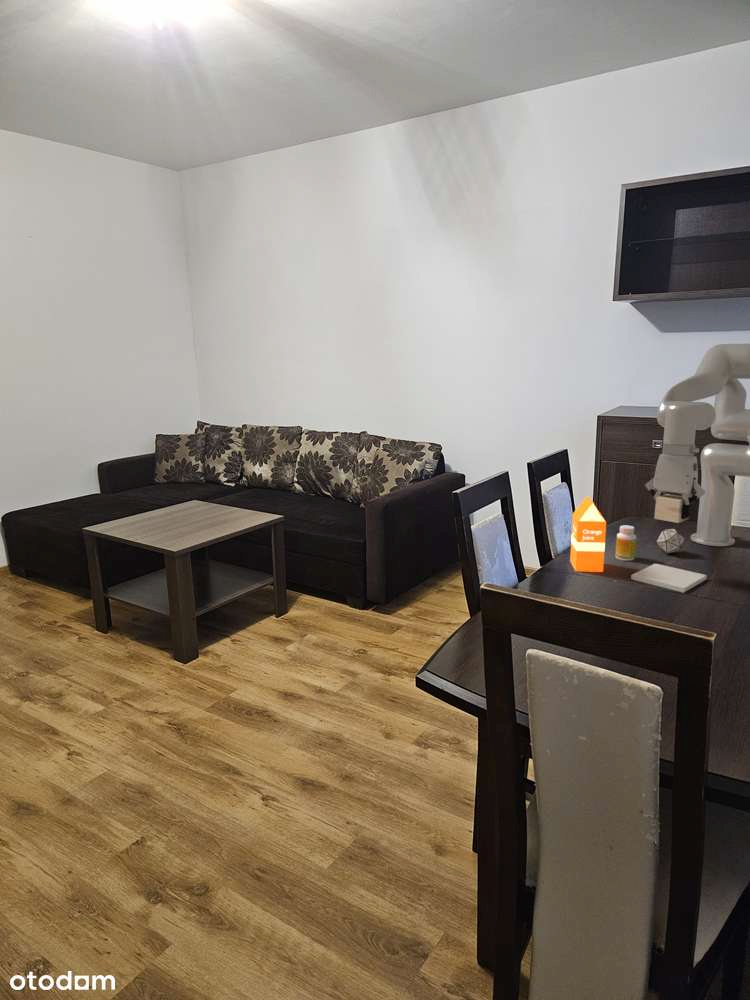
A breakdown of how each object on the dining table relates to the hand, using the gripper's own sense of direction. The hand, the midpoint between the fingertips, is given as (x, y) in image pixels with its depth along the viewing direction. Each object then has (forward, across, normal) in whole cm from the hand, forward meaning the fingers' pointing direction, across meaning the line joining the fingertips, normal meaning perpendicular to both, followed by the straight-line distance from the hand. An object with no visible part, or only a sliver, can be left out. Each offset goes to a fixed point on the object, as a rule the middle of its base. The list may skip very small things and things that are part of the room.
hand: (671, 515), depth 174 cm
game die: (+16, +8, -19) cm, 26 cm away
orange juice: (+17, +18, +10) cm, 27 cm away
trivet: (+17, -3, +4) cm, 17 cm away
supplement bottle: (+17, +15, -5) cm, 23 cm away
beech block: (+1, 0, 0) cm, 1 cm away
